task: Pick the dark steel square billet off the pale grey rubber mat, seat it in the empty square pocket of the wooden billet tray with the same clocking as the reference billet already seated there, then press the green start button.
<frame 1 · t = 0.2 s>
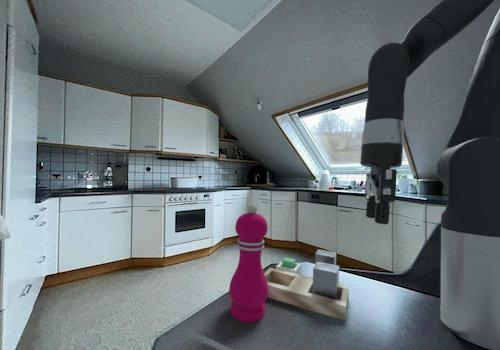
hand: (375, 220, 45), 17 cm above the table, tool pointing down, fingers open, 8 cm apart
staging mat: (325, 283, 53), on the table
start button housing: (288, 276, 56), on the table
start button: (288, 264, 56), point 3 cm above the table, slide at 0.0 cm
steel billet: (325, 281, 53), resting on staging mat
reference billet: (325, 302, 43), point 1 cm above the table, touching wooden billet tray
wooden billet tray: (300, 298, 46), on the table
pepper mill: (247, 315, 39), on the table
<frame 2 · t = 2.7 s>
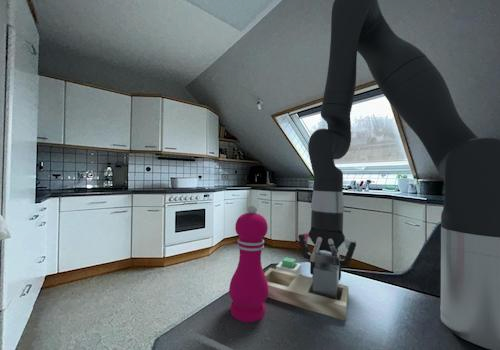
hand: (325, 278, 53), 1 cm above the table, tool pointing down, fingers closed on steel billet, 4 cm apart
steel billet: (325, 281, 53), resting on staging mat, touching gripper
everything else where it was.
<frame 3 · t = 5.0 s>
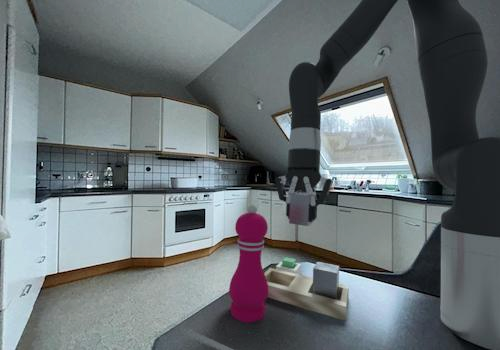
hand: (300, 219, 51), 16 cm above the table, tool pointing down, fingers closed on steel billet, 4 cm apart
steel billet: (300, 223, 51), point 15 cm above the table, touching gripper
everything else where it was.
when the fingers open (3 cm above the table, at t = 7.5 s): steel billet drops 2 cm, resting on wooden billet tray.
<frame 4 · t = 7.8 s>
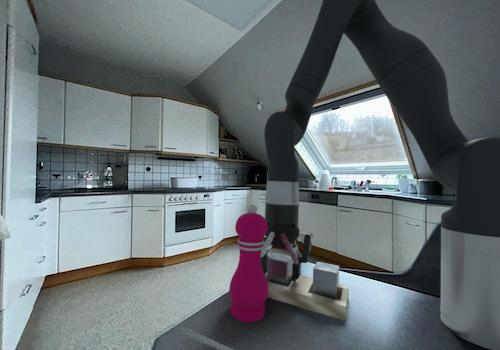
hand: (279, 275, 48), 3 cm above the table, tool pointing down, fingers open, 6 cm apart
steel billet: (279, 289, 48), point 1 cm above the table, touching wooden billet tray
everything else where it was.
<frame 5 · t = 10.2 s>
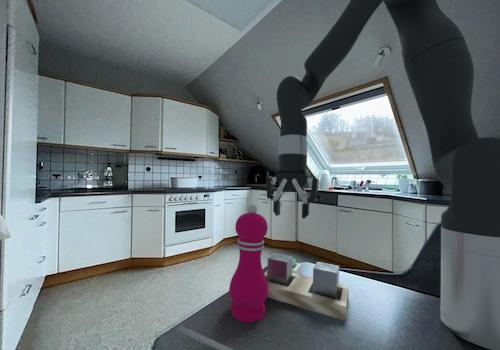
hand: (290, 216, 57), 16 cm above the table, tool pointing down, fingers open, 6 cm apart
nothing on the table moved.
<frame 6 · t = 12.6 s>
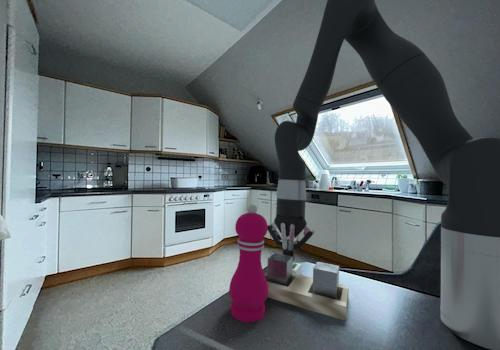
hand: (288, 263, 56), 3 cm above the table, tool pointing down, fingers closed
start button: (288, 268, 56), point 2 cm above the table, slide at 0.9 cm, touching gripper
everything else where it was.
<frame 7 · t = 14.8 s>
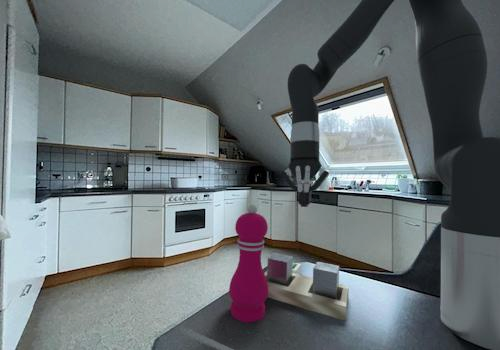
hand: (304, 206, 57), 19 cm above the table, tool pointing down, fingers closed
start button: (288, 268, 56), point 2 cm above the table, slide at 1.1 cm
everything else where it was.
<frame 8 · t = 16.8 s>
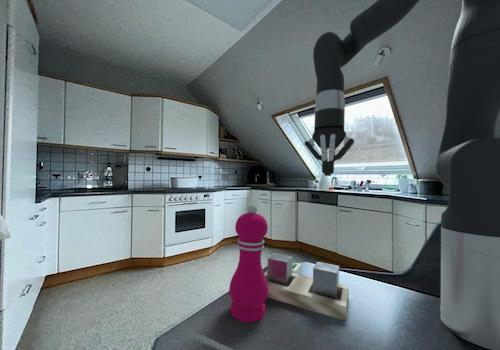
hand: (327, 175, 57), 27 cm above the table, tool pointing down, fingers closed
nothing on the table moved.
at the end: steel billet 0.1 cm from the target spot on the wooden billet tray, point 0.6 cm above the wooden billet tray's base; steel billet tilted 0°; start button slide at 1.1 cm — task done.
